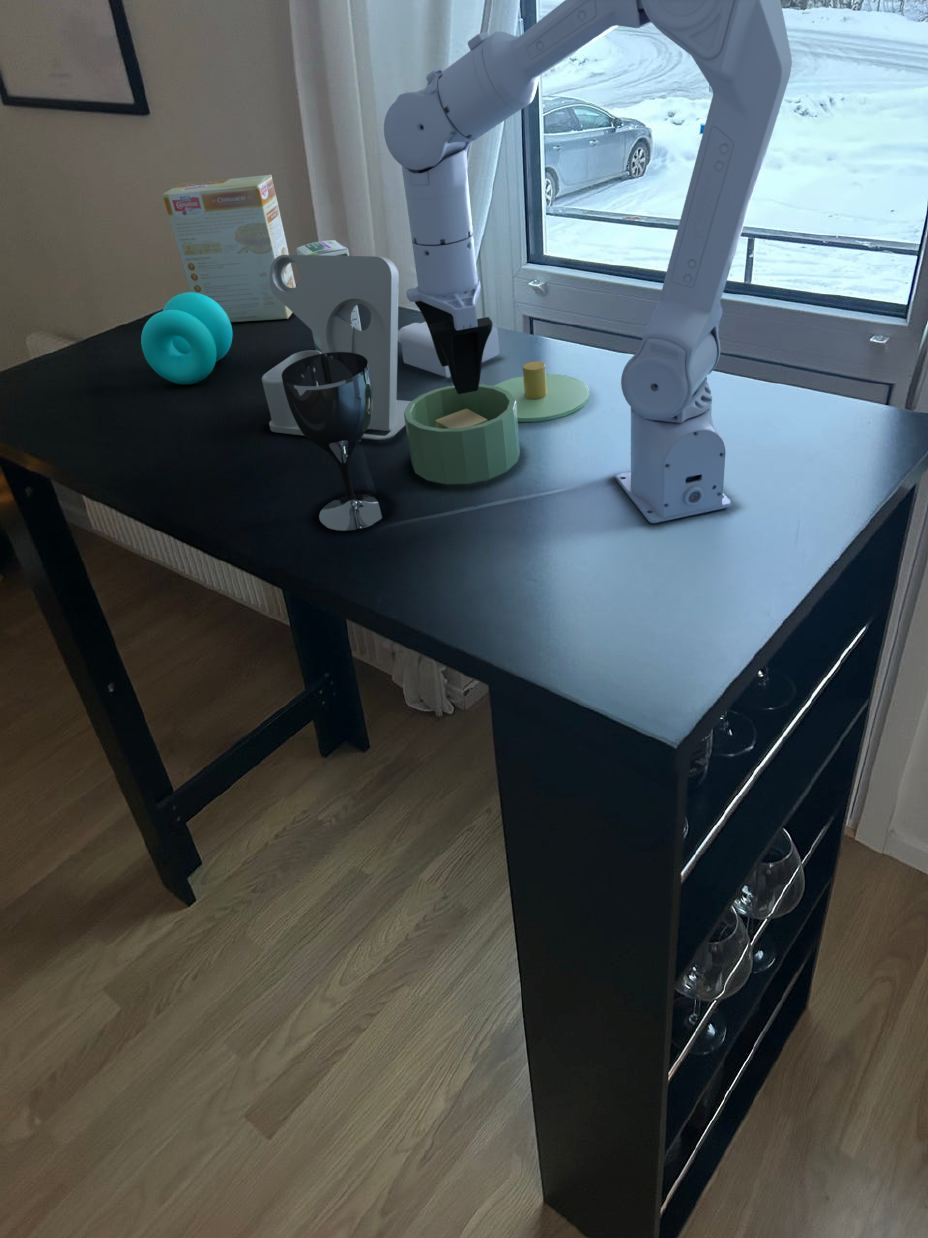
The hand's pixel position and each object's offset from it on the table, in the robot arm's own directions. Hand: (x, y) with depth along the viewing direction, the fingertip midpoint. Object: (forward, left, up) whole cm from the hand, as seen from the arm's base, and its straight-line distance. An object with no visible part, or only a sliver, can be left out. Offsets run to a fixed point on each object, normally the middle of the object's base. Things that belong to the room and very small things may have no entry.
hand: (458, 377), depth 93 cm
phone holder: (+17, +11, -10) cm, 22 cm away
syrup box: (+39, +9, -10) cm, 41 cm away
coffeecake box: (+64, +21, -10) cm, 68 cm away
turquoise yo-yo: (+42, +29, -10) cm, 52 cm away
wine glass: (-6, +13, -10) cm, 17 cm away
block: (0, 0, -9) cm, 9 cm away
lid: (+11, -11, -9) cm, 18 cm away
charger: (+31, -3, -10) cm, 32 cm away
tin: (0, 0, -9) cm, 9 cm away
